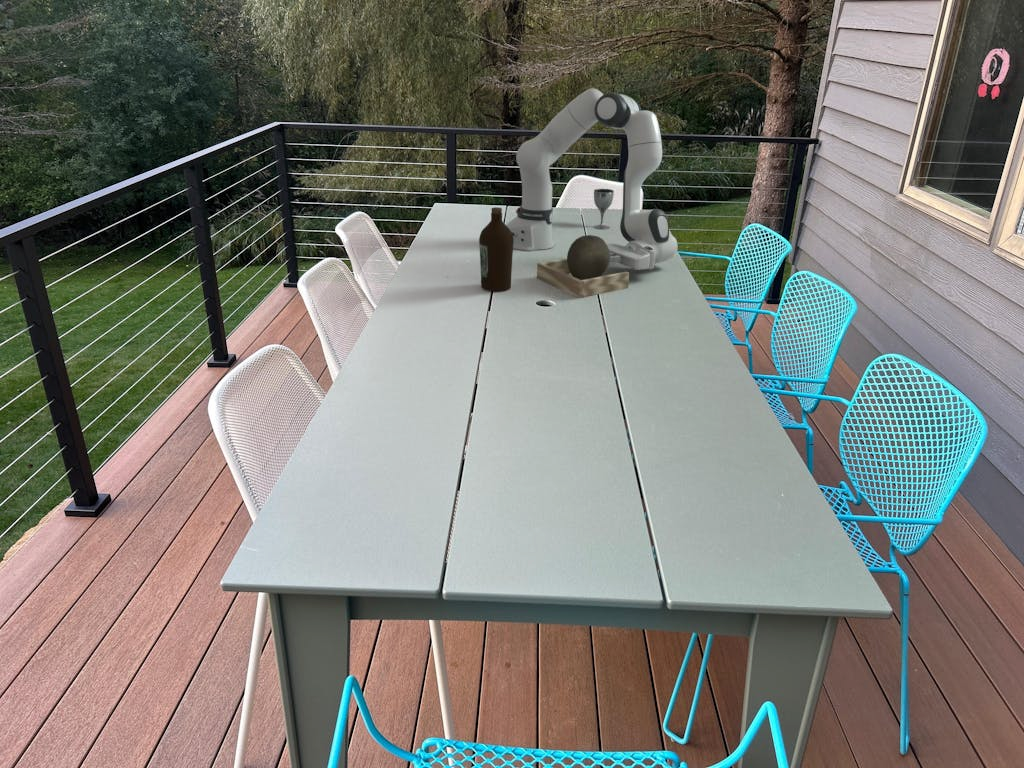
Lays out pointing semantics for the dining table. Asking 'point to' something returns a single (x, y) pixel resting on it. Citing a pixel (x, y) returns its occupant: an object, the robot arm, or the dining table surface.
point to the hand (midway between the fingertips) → (605, 259)
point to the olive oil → (496, 254)
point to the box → (559, 278)
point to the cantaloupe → (588, 257)
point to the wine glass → (603, 203)
